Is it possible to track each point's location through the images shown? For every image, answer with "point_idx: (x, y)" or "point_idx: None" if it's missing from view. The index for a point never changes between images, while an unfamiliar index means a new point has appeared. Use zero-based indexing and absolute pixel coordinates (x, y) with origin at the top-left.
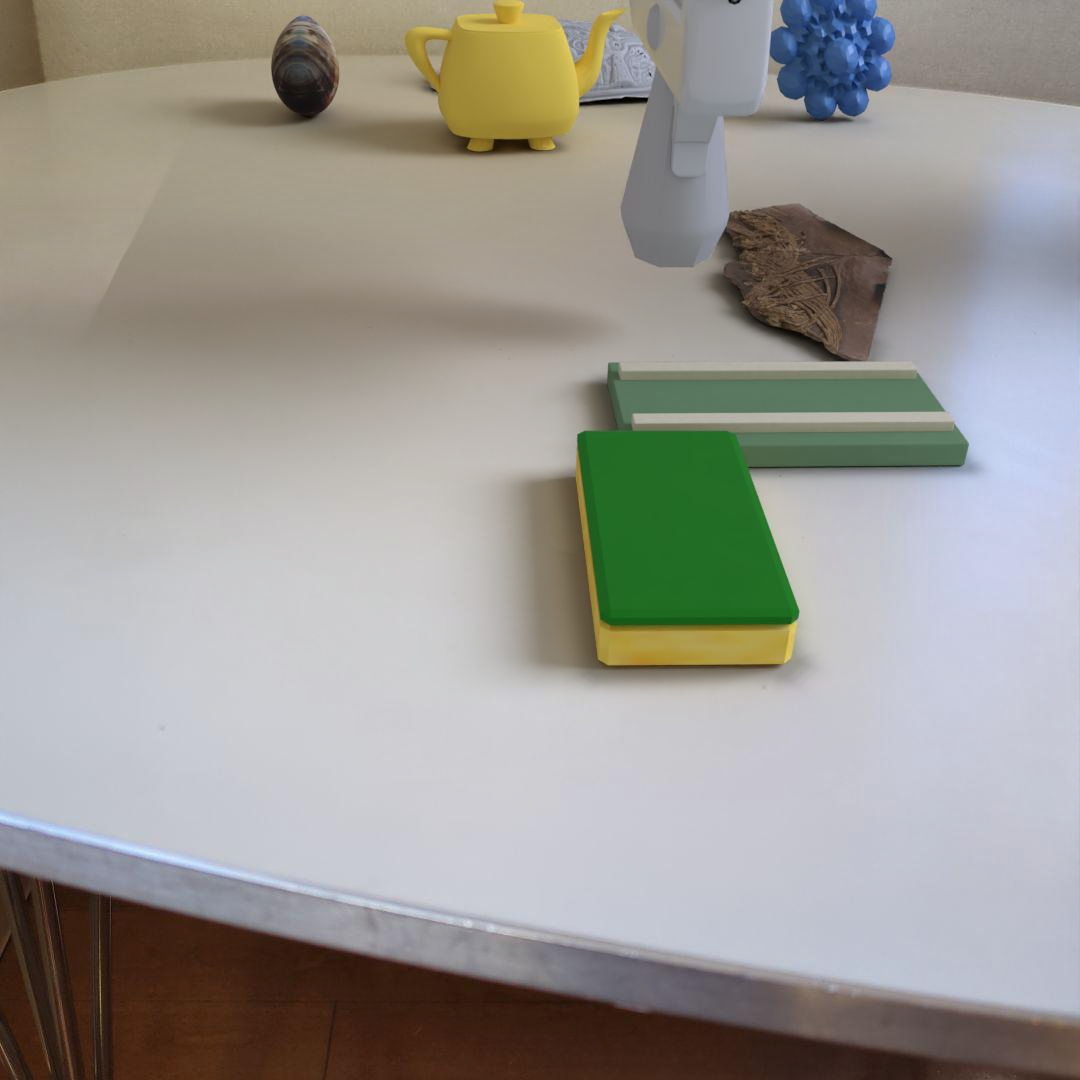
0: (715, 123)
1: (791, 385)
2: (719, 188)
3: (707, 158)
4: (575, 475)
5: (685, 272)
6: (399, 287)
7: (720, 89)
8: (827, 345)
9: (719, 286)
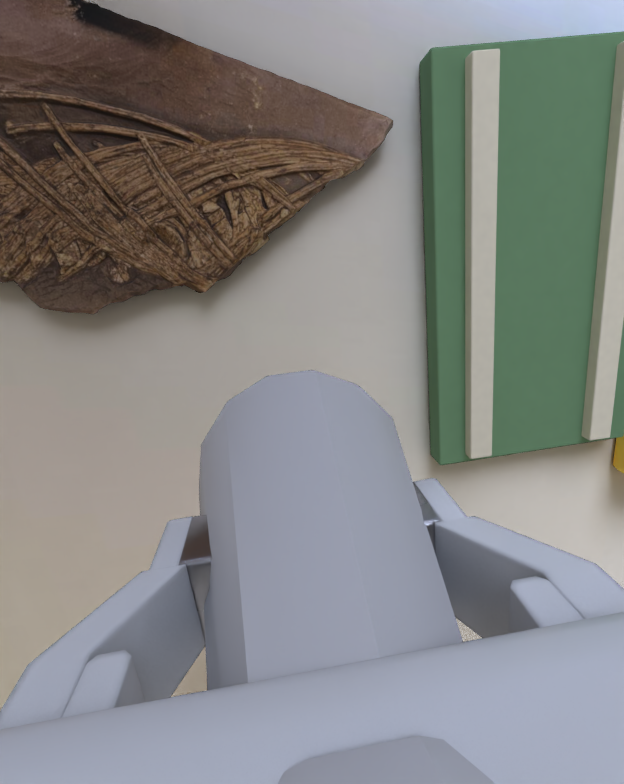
0: (544, 544)
1: (505, 252)
2: (371, 421)
3: (446, 492)
4: (618, 470)
5: (50, 366)
6: (198, 679)
7: None
8: (346, 173)
9: (97, 315)
